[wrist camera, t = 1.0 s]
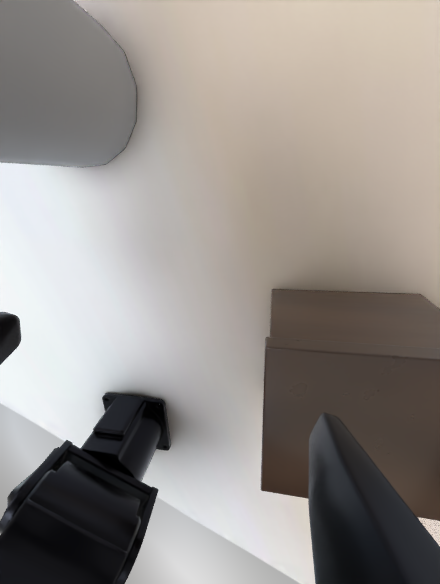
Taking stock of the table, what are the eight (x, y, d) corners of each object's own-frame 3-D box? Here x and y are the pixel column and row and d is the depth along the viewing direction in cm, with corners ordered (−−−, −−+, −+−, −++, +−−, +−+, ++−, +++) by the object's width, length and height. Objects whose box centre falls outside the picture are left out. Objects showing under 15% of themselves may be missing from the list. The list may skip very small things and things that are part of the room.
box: (394, 409, 22) (453, 524, 15) (265, 396, 24) (260, 491, 17) (425, 291, 19) (525, 366, 11) (269, 285, 21) (265, 347, 13)
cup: (135, 175, 19) (11, 171, 10) (31, 159, 20) (-168, 143, 11) (137, 18, 16) (-48, -196, 7) (11, 8, 17) (-296, -189, 8)
